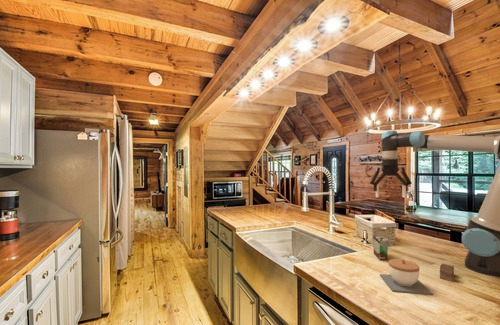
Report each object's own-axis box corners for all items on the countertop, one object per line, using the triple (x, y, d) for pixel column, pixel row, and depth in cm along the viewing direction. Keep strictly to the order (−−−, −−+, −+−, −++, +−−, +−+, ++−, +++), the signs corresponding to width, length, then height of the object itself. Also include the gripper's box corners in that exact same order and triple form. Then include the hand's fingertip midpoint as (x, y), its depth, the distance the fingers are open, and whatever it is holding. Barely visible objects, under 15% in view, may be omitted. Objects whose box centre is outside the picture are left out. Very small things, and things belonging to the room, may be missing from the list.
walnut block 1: (442, 272, 108) (442, 263, 108) (453, 275, 105) (453, 266, 105) (440, 274, 105) (440, 265, 105) (452, 277, 102) (451, 268, 102)
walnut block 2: (442, 276, 104) (442, 267, 104) (454, 279, 101) (453, 270, 101) (440, 278, 101) (439, 269, 101) (452, 282, 98) (451, 272, 98)
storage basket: (398, 246, 143) (397, 222, 144) (372, 246, 143) (371, 222, 144) (376, 235, 167) (376, 214, 168) (354, 235, 167) (353, 214, 167)
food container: (393, 262, 119) (393, 242, 119) (380, 261, 120) (380, 241, 120) (384, 253, 131) (384, 235, 131) (372, 252, 132) (372, 235, 132)
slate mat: (414, 277, 102) (414, 276, 102) (433, 295, 88) (433, 293, 88) (379, 275, 105) (379, 274, 105) (392, 291, 91) (392, 290, 91)
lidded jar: (426, 286, 94) (425, 262, 94) (407, 291, 90) (407, 267, 90) (400, 274, 104) (399, 253, 104) (382, 279, 100) (382, 257, 100)
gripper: (411, 158, 131) (412, 196, 130) (363, 159, 136) (364, 196, 135) (418, 158, 124) (419, 198, 123) (367, 159, 128) (368, 197, 128)
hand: (390, 197), depth 129 cm, fingers open, 13 cm apart
